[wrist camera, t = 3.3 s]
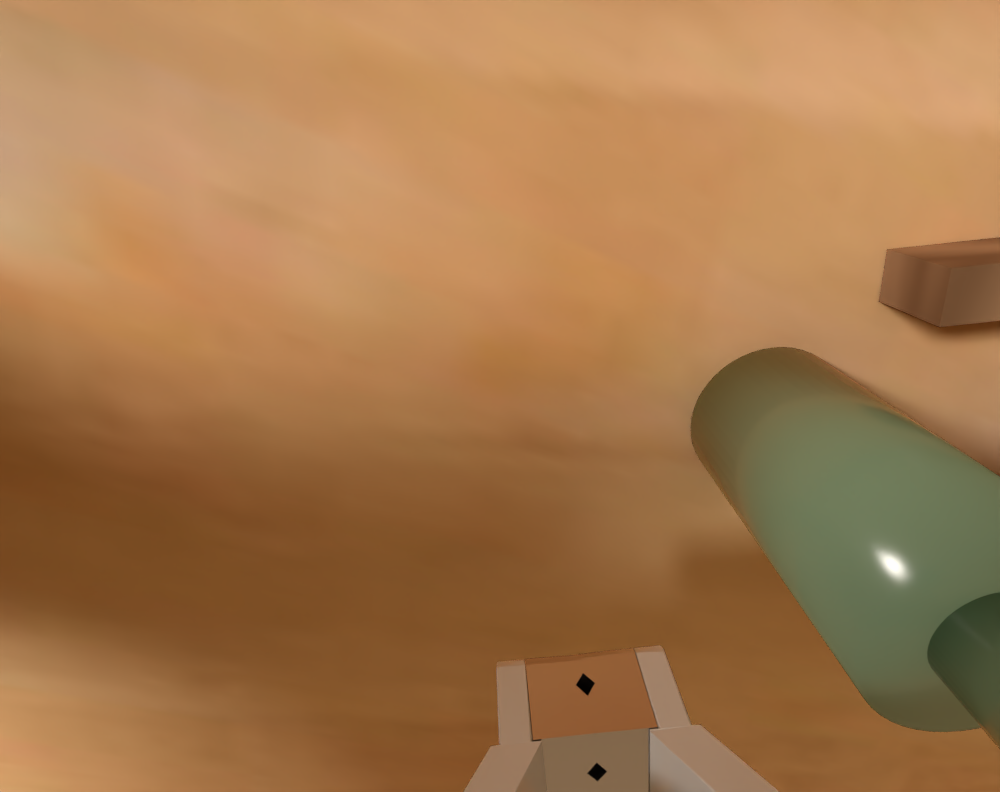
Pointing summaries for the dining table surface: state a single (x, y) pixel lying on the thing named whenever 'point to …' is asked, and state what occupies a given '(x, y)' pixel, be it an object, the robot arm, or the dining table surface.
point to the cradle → (945, 282)
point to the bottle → (866, 532)
